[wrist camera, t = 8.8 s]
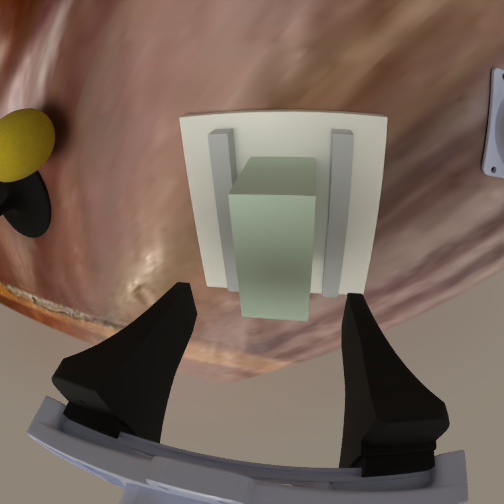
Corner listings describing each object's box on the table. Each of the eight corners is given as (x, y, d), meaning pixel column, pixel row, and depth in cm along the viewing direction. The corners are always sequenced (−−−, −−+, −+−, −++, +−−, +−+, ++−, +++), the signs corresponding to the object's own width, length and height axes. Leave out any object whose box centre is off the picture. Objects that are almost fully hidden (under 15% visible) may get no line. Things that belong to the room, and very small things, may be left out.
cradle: (383, 114, 17) (393, 121, 15) (361, 286, 25) (364, 307, 22) (185, 114, 19) (169, 122, 17) (210, 278, 27) (202, 298, 25)
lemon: (73, 162, 22) (8, 205, 16) (33, 153, 22) (-28, 191, 16) (74, 100, 19) (-1, 129, 13) (32, 98, 19) (-37, 125, 13)
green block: (310, 261, 23) (307, 321, 18) (257, 259, 23) (241, 316, 19) (314, 157, 18) (315, 196, 13) (250, 156, 19) (228, 194, 14)
